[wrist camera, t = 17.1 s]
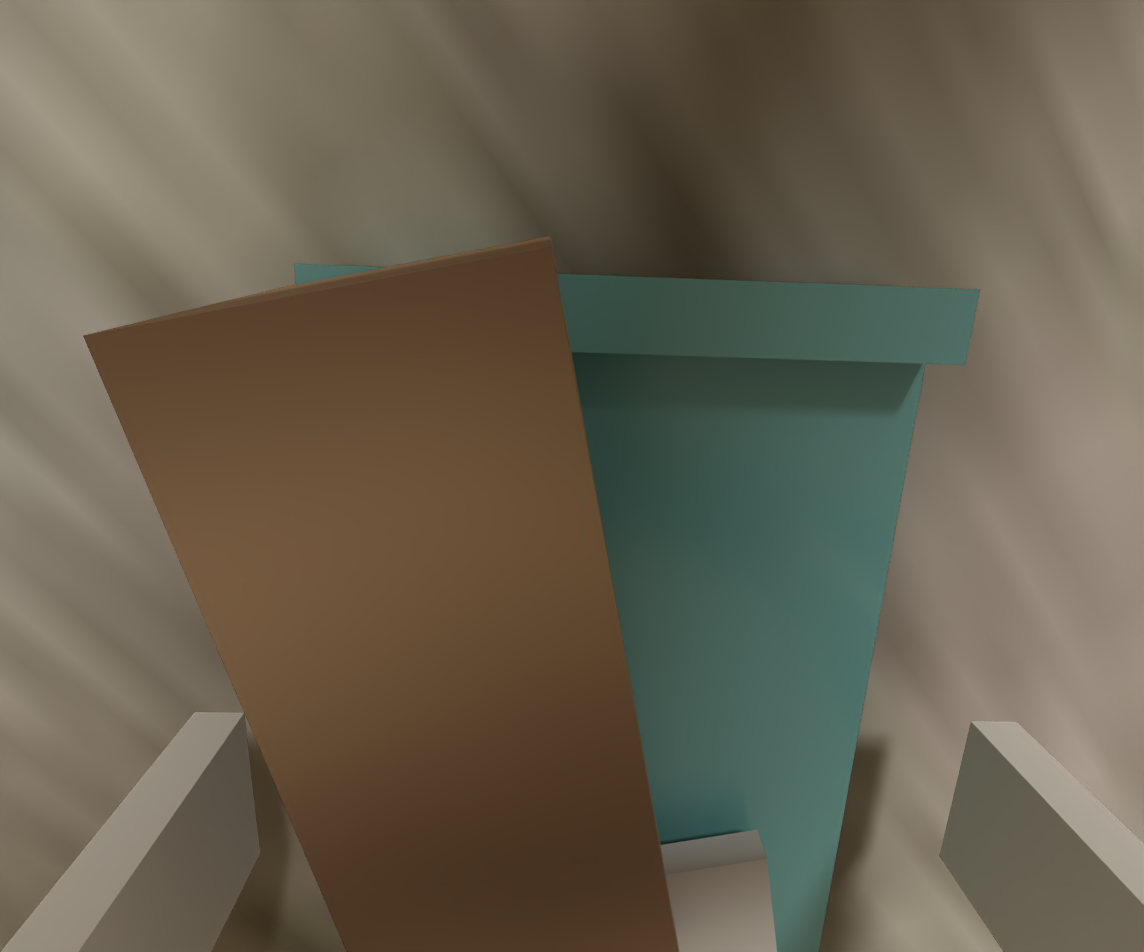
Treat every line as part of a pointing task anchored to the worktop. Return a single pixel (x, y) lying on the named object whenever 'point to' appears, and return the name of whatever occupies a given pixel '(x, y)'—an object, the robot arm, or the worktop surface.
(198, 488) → the turner
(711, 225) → the worktop surface
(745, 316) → the rest
